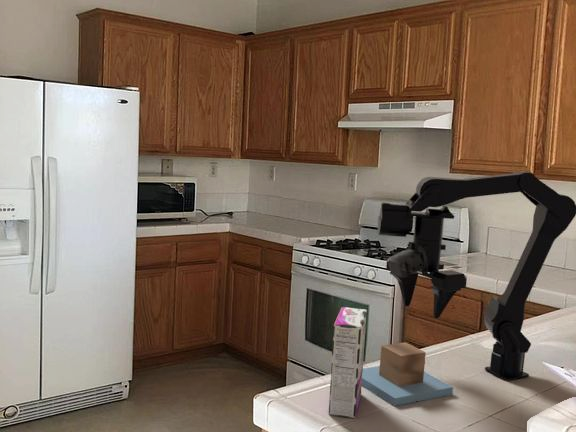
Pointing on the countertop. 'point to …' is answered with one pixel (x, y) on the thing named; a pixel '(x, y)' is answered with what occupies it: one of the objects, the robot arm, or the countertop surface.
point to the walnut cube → (402, 364)
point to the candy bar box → (347, 362)
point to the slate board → (404, 388)
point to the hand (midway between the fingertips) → (421, 312)
